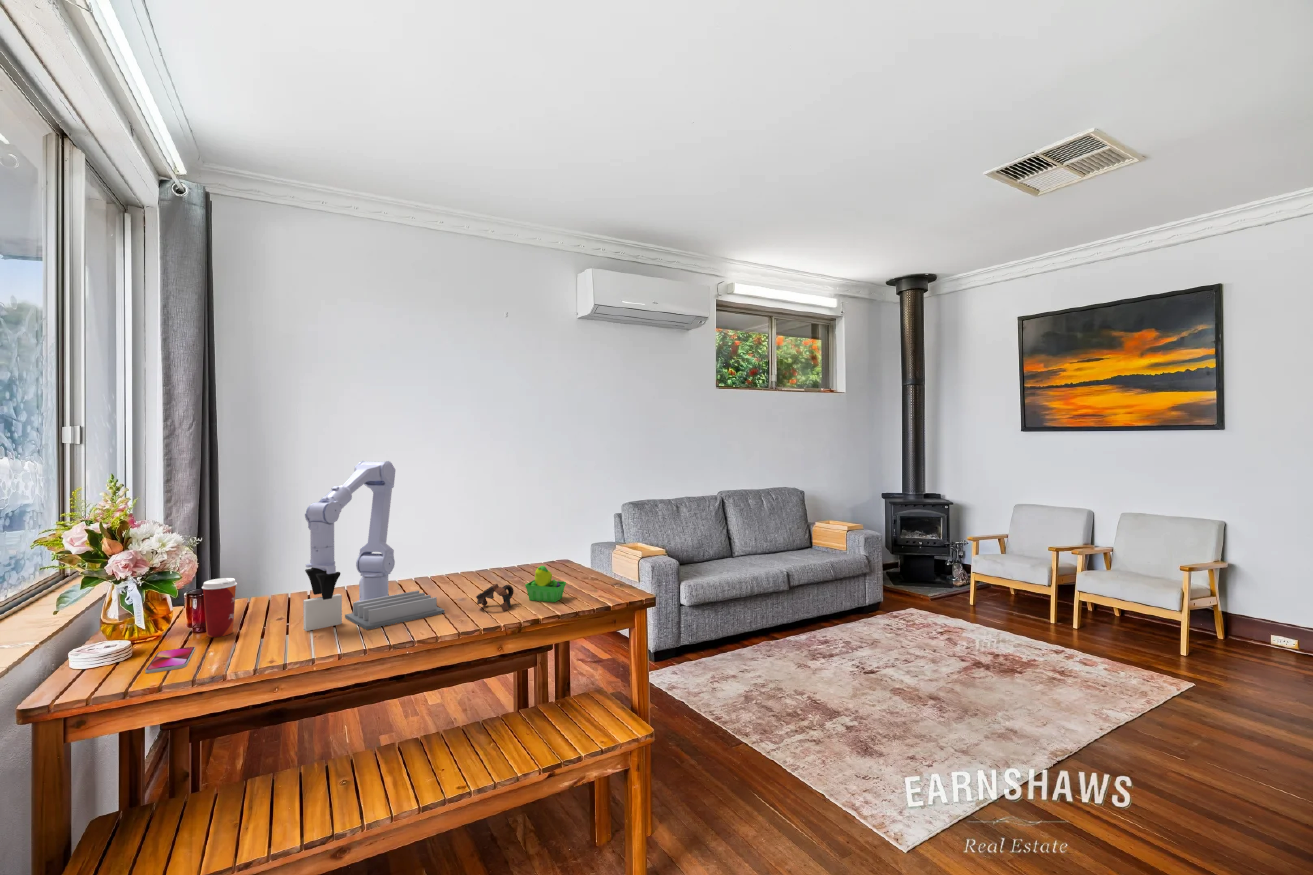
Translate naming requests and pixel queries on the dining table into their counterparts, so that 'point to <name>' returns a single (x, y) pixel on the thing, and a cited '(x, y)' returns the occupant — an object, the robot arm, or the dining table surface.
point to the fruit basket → (544, 587)
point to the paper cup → (219, 606)
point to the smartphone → (170, 660)
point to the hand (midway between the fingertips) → (322, 596)
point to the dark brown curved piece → (500, 591)
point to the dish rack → (393, 609)
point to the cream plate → (322, 612)
